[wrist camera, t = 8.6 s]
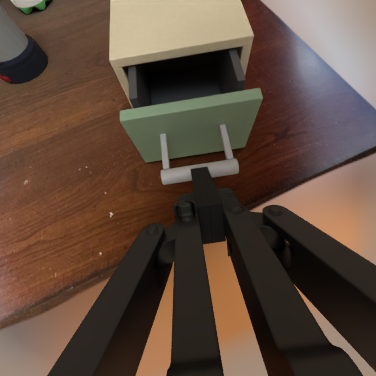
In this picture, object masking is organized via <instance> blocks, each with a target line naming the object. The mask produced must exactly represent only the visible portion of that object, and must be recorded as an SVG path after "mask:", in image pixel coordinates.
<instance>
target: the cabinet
mask: <svg viewBox="0 0 376 376" xmlns="http://www.w3.org/2000/svg"><path fill="white" fill-rule="evenodd" d="M253 37H254V34H253V32H252V29H251V26H250V24H249V21H248V18H247V16H246V13H245V11H244V8H243V5H242V3H241V0H111V4H110V49H109V61H110V63H111V65H112V67H113V69H114V71H115V73H116V75H117V77H118V80H119V82H120V84H121V86H122V88H123V90H124V92H125V94H126V96H127V98H128V100H129V78H128V66H130V65H136V64H142V63H148V62H153V61H159V60H165V59H171V58H177V57H183V56H188V55H194V54H200V53H206V52H212V51H218V50H223V49H229V48H235V47H236V50H237V53H238V56H239V59H240V62H241V65H242V69H243V72H244V75H245V73H246V69H247V64H248V60H249V55H250V51H251V46H252V45H251V44H252V41H253ZM129 102H130V100H129ZM130 104H131V102H130ZM131 106H132V104H131ZM132 109H134V108H133V106H132Z"/></svg>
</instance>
